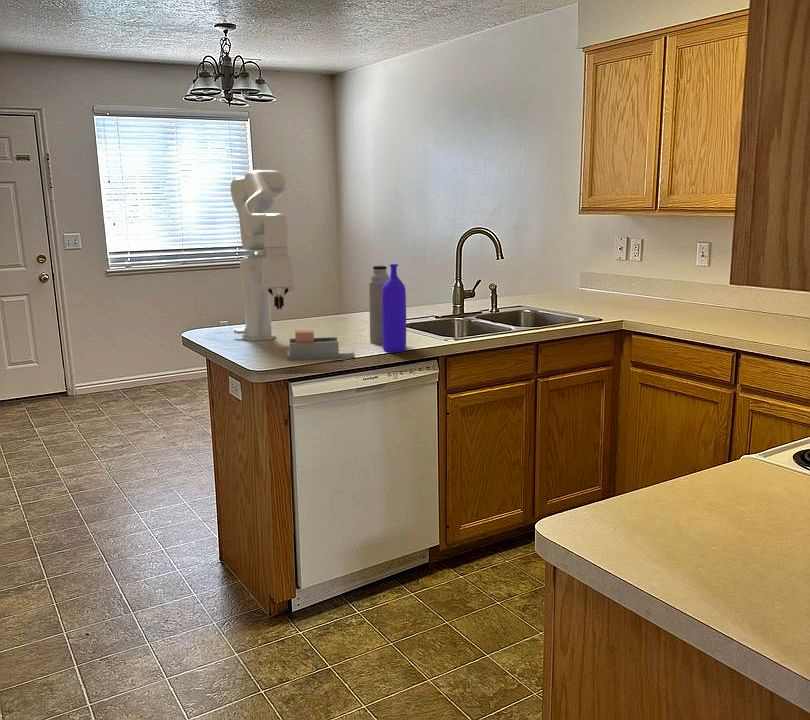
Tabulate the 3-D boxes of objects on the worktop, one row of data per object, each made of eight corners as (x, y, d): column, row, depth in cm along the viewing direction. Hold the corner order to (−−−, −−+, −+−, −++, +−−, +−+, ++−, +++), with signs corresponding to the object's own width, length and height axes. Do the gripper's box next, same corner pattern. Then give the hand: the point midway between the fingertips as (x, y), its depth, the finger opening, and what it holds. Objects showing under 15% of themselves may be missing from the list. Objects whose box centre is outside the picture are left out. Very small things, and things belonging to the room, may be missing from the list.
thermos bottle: (377, 339, 280) (376, 264, 274) (395, 341, 276) (394, 265, 270) (365, 342, 274) (364, 266, 268) (384, 344, 270) (383, 267, 264)
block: (296, 353, 247) (295, 332, 246) (296, 350, 253) (295, 329, 251) (314, 352, 248) (313, 332, 247) (313, 349, 254) (313, 329, 252)
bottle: (377, 350, 260) (376, 264, 254) (394, 347, 266) (394, 262, 259) (394, 353, 254) (393, 265, 248) (411, 350, 260) (410, 264, 253)
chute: (287, 360, 245) (286, 343, 244) (287, 354, 255) (286, 338, 254) (353, 357, 248) (353, 341, 247) (351, 351, 258) (351, 336, 257)
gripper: (252, 253, 238) (255, 310, 241) (300, 252, 240) (302, 309, 243) (254, 252, 245) (256, 307, 249) (299, 251, 247) (302, 306, 251)
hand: (279, 308), depth 246 cm, fingers closed
